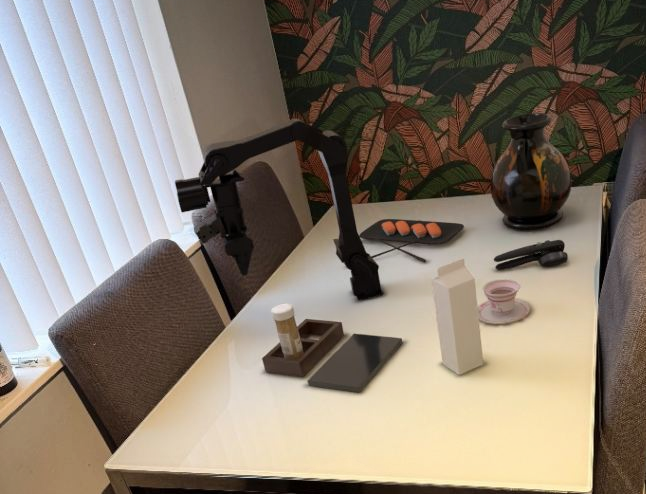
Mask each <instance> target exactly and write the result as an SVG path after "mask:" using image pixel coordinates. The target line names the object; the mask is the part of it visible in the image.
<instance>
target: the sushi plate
mask: <svg viewBox="0 0 646 494" xmlns="http://www.w3.org/2000/svg"><path fill="white" fill-rule="evenodd" d="M464 229H465V225H464V224H462V223H458V222H447V221H430V220H415V219H399V218H384V219H380V220H378V221H376V222H374V223H373V224H371V225H370V226H368V227H367V228H366V229H364V230H363V231H361V232H360V234H359V237H360V239H364V240H372V241H373V240H374V241H378V242H380V243H382V244H385V245H387V246H388V247H391V248H390V249H387V250H385V251H382V252H380V253H377V254H374V255H370V256H371V257H372V258H373V259H374V258H375V259H376V258H377V257H381V256H382V255H385V254H387V253H390V252H393V251H399V252H402V253H404V254H405V255H408V256H410V257H412V258H414V259H416V260H418V261H420V262H423V263H427V260H426V259H425V258H423V257H420V256H418V255H416V254H414V253H412V252H409V251H406V250H404V249H402V248H403V247H406V246H409V245H412V244H417V245H430V246H431V245H432V246H437V245H443V244H446V243H448V242H450V241H451V240H452V239H454V238H455V237H456V236H457V235H459V234H460V232H462V230H464ZM389 242H391V243H392V242H395V243H404V244H402V245H399V246H395V245H393V244H391V243H389Z"/></svg>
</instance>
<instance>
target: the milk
mask: <svg viewBox="0 0 646 494" xmlns="http://www.w3.org/2000/svg"><path fill="white" fill-rule="evenodd" d="M465 263H466V262H465V259H464V258H460V259H457V260H455V261H452V262H450V263H447V264H444V265H442V266H440V267H438V268H437V276H435V277H433V278H431V280H430V281H431V288H432V294H433V303H434V310H435V316H436V324H437V332H438V340H439V347H440V353H441V360H442V365H443V366H445V367H447V368H448V369H449V370H451V371H453V372H454V373H455V374H457V375H458V376H461V375H462V374H465V373H467V372H469V371H472V370H474V369H476V368H479V367H481V366H483V365H484V356H483V346H482V335H481V327H480V320H479V316H478V307H479V306H478V298H477V288H476V279H475V277H474V275H473V274H472V273H471V271H470V270H469V269H468V268H467V266H466V264H465Z"/></svg>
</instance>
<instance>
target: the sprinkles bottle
mask: <svg viewBox="0 0 646 494" xmlns="http://www.w3.org/2000/svg"><path fill="white" fill-rule="evenodd" d="M271 315H272V319H273V321H274V324H275V327H276V333H277V336H278V340H279V342H280V344H281V347H282V351H283V353H284V357H285V358H288V359H296V360H298V359H299V358H300V357H301V356H302V355H303V354H304V352H303V348H302V343H301V340H300V336H299V332H298V328H297V326H298V325H297V321H296V318H295V310H294V306H293V304H291V303H280V304H278V305H275V306H274V307H272V309H271Z"/></svg>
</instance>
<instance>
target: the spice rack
mask: <svg viewBox="0 0 646 494" xmlns="http://www.w3.org/2000/svg"><path fill="white" fill-rule="evenodd" d="M343 327H344V326H343V322H342V321H334V320H325V319H313V318H305V319H304V320H302V321H301V322H300V323H299V324H298V325H297V328H298V332H299V336H300V340H301V343H302V348H303V352H304V354H303V355H302V356H301V357H300V358H299V359H298V360H296V359H288V358H285V357H284V353H283V351H282V347H281V344H280V341H279V342H278V343H277V344H276V345H275V346H274V347H273V348H271V349H270V350H269V351H268V352H267V353H266V354H265V355H263V356H262V358H261V360H262V364H263V367H264V371H265V373H268V374H269V373H270V374H276V375H284V376H292V377H298V378H304V377H305V376H306V375H307V374H308V373H309V372H310V371H311V370H312V369H313V368H314V367H315V366H316V365H317V364H318V363H319V362H320V361H321V360H322V359H323V358H324V357H325V356H326V355H327V354H328V353H329V352H330V351H331V350H332V349H333V348H334V347H335V346H336V345H337V344H338V343H339V342H340V341H341V340H342V339H343V338H344V337H345V331H344V328H343ZM310 336H319V337H320V338H318V339H314V338H313V339H312V338H309V337H310Z"/></svg>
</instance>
